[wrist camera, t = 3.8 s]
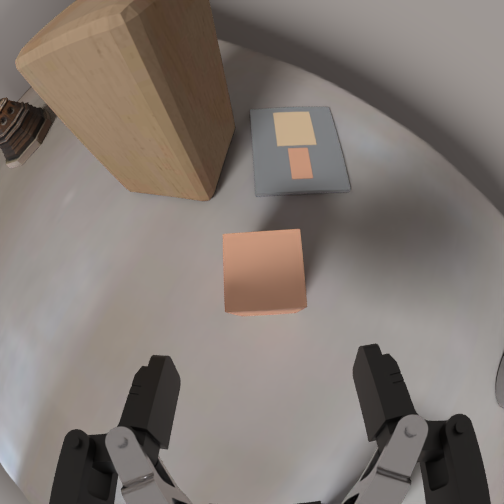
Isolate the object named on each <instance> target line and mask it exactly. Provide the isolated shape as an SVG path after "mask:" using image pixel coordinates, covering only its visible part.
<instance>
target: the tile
mask: <svg viewBox="0 0 504 504" xmlns="http://www.w3.org/2000/svg"><path fill="white" fill-rule="evenodd" d="M250 118H251V133H252V149H253V164H254V180H255V195H256V197H261V196H275V195H292V194H312V193H339V192H350V190H351V188H350V184H349V179H348V175H347V171H346V167H345V163H344V159H343V155H342V151H341V147H340V143H339V140H338V136H337V132H336V129H335V126H334V122H333V119H332V116H331V112H330V109H329V107H282V108H264V109H251V110H250Z"/></svg>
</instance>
